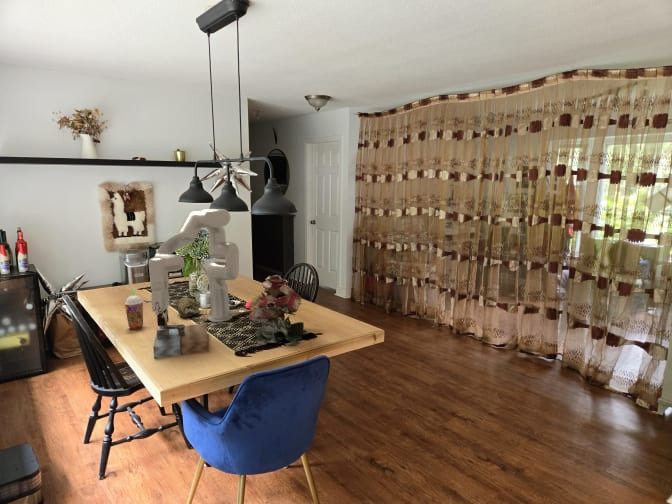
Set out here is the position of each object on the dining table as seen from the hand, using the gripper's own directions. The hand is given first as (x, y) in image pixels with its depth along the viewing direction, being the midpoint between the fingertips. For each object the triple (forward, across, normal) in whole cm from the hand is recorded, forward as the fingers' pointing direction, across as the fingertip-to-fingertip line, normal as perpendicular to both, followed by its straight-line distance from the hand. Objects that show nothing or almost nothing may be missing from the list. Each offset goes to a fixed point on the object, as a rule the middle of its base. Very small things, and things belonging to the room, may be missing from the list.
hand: (163, 323), depth 190 cm
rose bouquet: (+11, -7, +50) cm, 52 cm away
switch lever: (+2, 0, +4) cm, 4 cm away
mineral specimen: (+11, -44, 0) cm, 45 cm away
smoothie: (+11, -26, -23) cm, 36 cm away
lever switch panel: (+10, +1, +8) cm, 13 cm away
